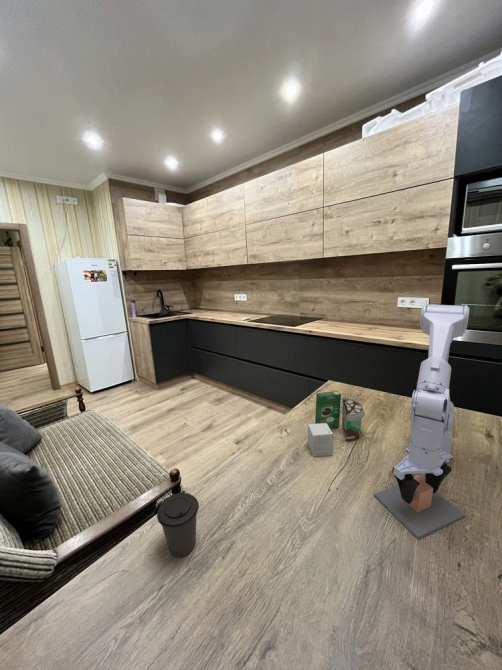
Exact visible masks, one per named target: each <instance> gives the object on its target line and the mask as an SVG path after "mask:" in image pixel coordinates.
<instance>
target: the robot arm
mask: <svg viewBox="0 0 502 670" xmlns="http://www.w3.org/2000/svg"><path fill="white" fill-rule="evenodd" d="M419 316H420V317H419V318H420V319H419V326H420V329H421V332H422V333H423V334H425V335H428V336H429V337H428V338H429V339H428V340H429V342H428V358H426V359H424V360H423V361H422V362H421V363H420V367H419V372H418V378H417V382H416V389H414V390H413V392H412V395H411V401H410V415H409V418H410V419H409V421H410V423H411V428H410V437H409V445H408V447H406V448H405V451H406V452H408V453H407V455H406V456H405V457H404V458H403V459H401V461H400V462H399V463H398V464H396V465H394V466H393V467H392V469H391V472H392V474H393V476H394V477H395V480H396V483H397V485H399V489H400V493H401V498H402V499H403V500H404V501H406V502H407V503H408V504H410V503H411V502H412V500H413V496H414V492H415V490H416V488H417V487H418V486H419V485H420V483H419V482H418V481H416V480H415V479H414V477H415V476H414V475H415V474H425V476H424V477H425V480H424V482H426V483H427V484H428V485H430V486H431V487H432V488H433V493H436V492H437V493H438V490H439V488H440V486H441V484H442V483H443V481H444V480H445V478H446V477H447V476H448V475H449V474H450V473H452V467H451V466H449V465H448V464H447V463H450V459H454V456H453V455H452V454H451V451H452V450H451V449H452V445H453V444H452V443H453V433H452V430H453V424H454V416H455V415H454V414H455V411H454V410H455V406H454V402H452V401H451V397H450V382H451V374H452V367H451V364H450V363H448V362H449V355H450V347H451V343H452V342H453V341H454V339H455V338H459V337H463V336H464V334H465V333H466V330H467V328H468V323H469V318H470V307H469V306H468V305H467V304H466V305H455V304H454V305H453V304H452V305H450V304H449V305H448V304H447V305H446V304H428V303H424V304H423V305H422V307H421V310H420V315H419ZM413 474H414V475H413Z"/></svg>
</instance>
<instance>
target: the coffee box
mask: <svg viewBox="0 0 502 670" xmlns="http://www.w3.org/2000/svg"><path fill="white" fill-rule="evenodd" d="M341 398H342V393H340V392H339V391H337V390H335V391H326V392H318V393H316V399H315V417H314V418H315V421H314V422H315V423H314V424H321V423H327V425H328V426H329V428H330V430H336V429H339V428H340V418H341V417H340V416H341V415H340V414H341V400H342V399H341Z"/></svg>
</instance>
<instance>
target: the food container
mask: <svg viewBox="0 0 502 670" xmlns="http://www.w3.org/2000/svg"><path fill="white" fill-rule="evenodd" d="M341 416H342V417H341V427H342V432H343V436H344V441H346V442H352V441H356V440H357V439H359V437H360V433H361V426H362V419H363V418H364V417H365V416H366V415H365V408H364V406H363V405H362V404H361V403H360V401H358V400H356V399H352V398H349V397H348V398H347V397H342V414H341Z"/></svg>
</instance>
